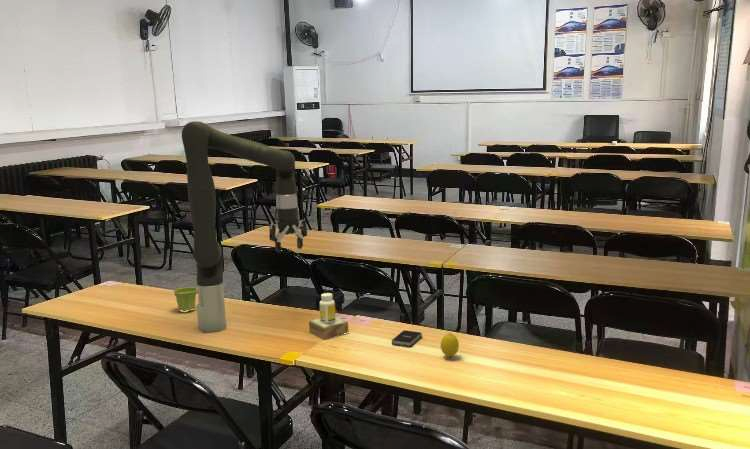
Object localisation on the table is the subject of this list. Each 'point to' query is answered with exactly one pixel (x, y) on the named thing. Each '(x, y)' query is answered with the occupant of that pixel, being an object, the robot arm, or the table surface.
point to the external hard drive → (406, 338)
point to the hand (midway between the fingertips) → (289, 250)
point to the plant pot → (186, 298)
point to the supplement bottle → (327, 308)
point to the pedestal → (328, 328)
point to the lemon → (449, 345)
